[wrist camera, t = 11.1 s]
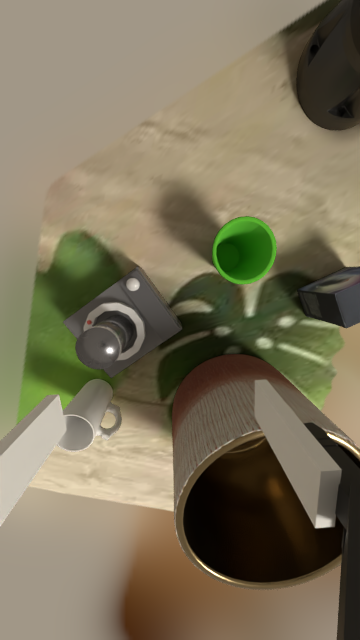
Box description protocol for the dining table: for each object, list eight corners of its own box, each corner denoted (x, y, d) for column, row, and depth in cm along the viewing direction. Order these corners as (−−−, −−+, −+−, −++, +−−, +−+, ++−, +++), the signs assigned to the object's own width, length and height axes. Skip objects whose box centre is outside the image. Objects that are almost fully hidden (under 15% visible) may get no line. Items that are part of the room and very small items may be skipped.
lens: (99, 315, 36) (71, 329, 27) (131, 313, 37) (116, 326, 27) (103, 347, 38) (78, 371, 28) (135, 345, 38) (121, 368, 28)
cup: (192, 267, 40) (200, 264, 29) (217, 222, 39) (234, 202, 28) (232, 290, 41) (254, 295, 31) (258, 247, 40) (289, 237, 29)
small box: (346, 264, 41) (403, 261, 31) (354, 294, 43) (412, 301, 32) (295, 288, 42) (335, 292, 32) (305, 317, 43) (347, 330, 33)
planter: (281, 451, 50) (365, 586, 28) (173, 456, 49) (175, 599, 27) (291, 348, 45) (404, 418, 23) (170, 352, 44) (169, 429, 22)
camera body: (141, 267, 40) (135, 266, 33) (181, 322, 42) (183, 332, 35) (75, 316, 41) (55, 325, 34) (117, 366, 44) (107, 384, 37)
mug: (77, 400, 45) (44, 444, 33) (87, 372, 44) (57, 408, 32) (122, 415, 46) (106, 463, 35) (133, 389, 45) (120, 429, 33)
